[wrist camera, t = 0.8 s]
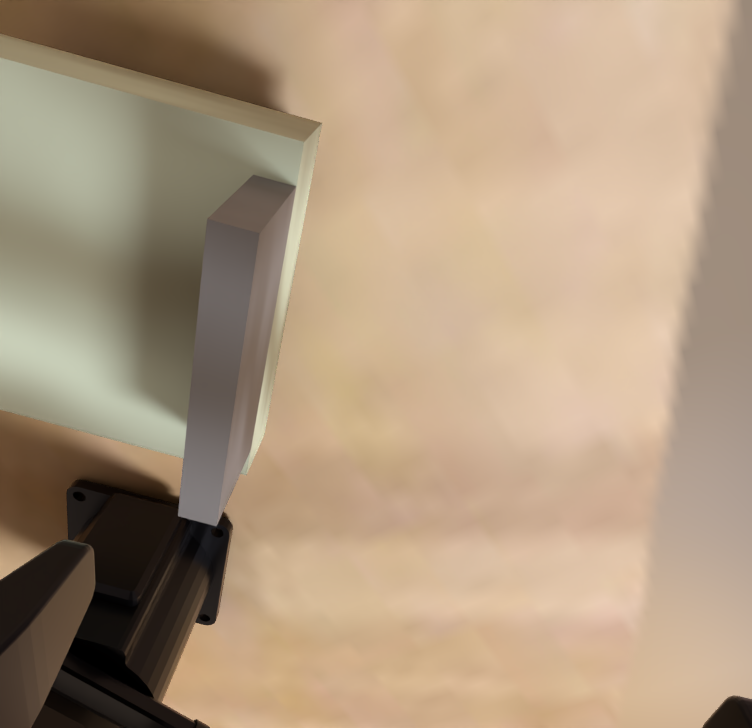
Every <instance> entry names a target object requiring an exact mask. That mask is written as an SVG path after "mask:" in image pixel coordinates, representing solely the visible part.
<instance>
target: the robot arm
mask: <svg viewBox="0 0 752 728" xmlns="http://www.w3.org/2000/svg"><path fill="white" fill-rule="evenodd" d="M178 510H179V505H176V504H172V503H168V502H165V501H161V500H157V499H153V498H150V497H146V496H142V495H138V494H134V493H131V492H127V491H123V490H119V489H116V488H112V487H108V486H104V485H100V484H97V483H93V482H89V481H85V480H76V481H75V482H73V483H72V485H71V486H70V487H69V489H68V490H67V516H68V540H62V541H59V542H57V543H55V544H54V545H52V546H51V547H49V548H48V549H46V550H45V551H43V552H42V553H40V554H39V555H37V556H36V557H34V558H33V559H31V560H30V561H28V562H27V563H25V564H24V565H22V566H21V567H19V568H18V569H16V570H15V571H13V572H12V573H10V574H9V575H7V576H6V577H4V578H3V579H1V580H0V728H210V727H209V726H208V725H206V724H204V723H202V722H200V721H199V720H197V719H196V720H194V721H193V720H191V719H189V718H187V717H186V716H184V715H182V714H180V713H178V712H177V711H175V710H173V709H171V708H170V707H168V706H166V705H164V704H163V703H162V701H163V698H164V696H165V693H166V691H167V689H168V686H169V684H170V682H171V679H172V677H173V674H174V672H175V670H176V667H177V665H178V662H179V660H180V658H181V655H182V653H183V650H184V648H185V646H186V643H187V641H188V638H189V636H190V634H191V631H192V629H193V627H194V624H195V623H199V624H203V625H212V624H214V623H215V621H216V618H217V616H218V613H219V608H220V602H221V596H222V590H223V584H224V578H225V572H226V566H227V560H228V554H229V548H230V542H231V536H232V530H233V526H232V524H231V522H230V521H229V520H228V519H226V518H224V517H220V520H219V522H218V524H217V526H213V525H210V524H206V523H202V522H198V521H194V520H191V519H187V518H183V517H179V516H178ZM217 528H218V529H217ZM219 529H220V530H219ZM703 728H752V699H748V698H744V697H740V696H731V697H728V698H727V699H726V700H725V701H724V702H723V703H722V704H721V705H720V707H719V708H718V709H717V710H716V711H715V712H714V713H713V714H712V716H711V717H710V718H709V719H708V720H707V721H706V722H705V724H704V725H703Z"/></svg>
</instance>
